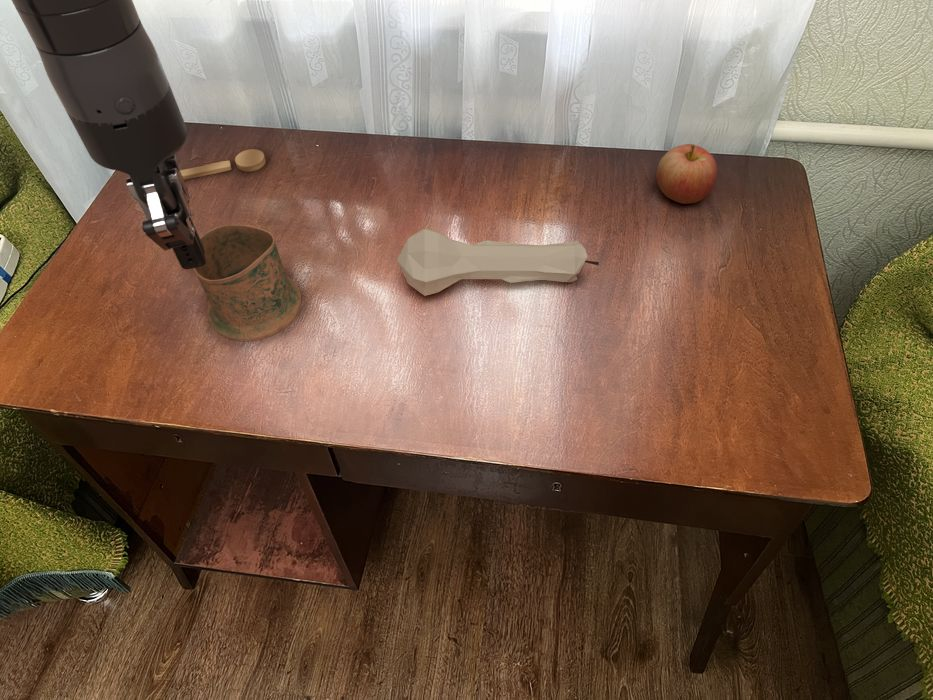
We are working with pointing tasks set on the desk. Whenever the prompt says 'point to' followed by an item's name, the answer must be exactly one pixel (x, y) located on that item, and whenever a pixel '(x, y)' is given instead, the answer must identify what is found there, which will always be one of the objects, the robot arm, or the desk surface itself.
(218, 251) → the mug
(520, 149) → the desk surface
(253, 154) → the spoon
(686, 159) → the apple
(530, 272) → the faceted club
